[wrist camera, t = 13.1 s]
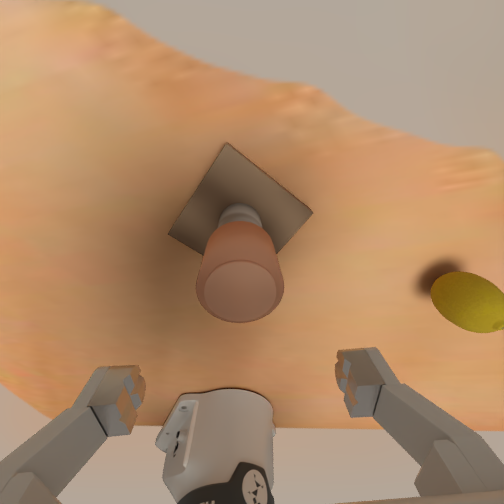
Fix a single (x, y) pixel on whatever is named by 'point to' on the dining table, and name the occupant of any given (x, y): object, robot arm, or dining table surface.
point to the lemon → (469, 302)
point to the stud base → (239, 203)
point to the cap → (240, 273)
